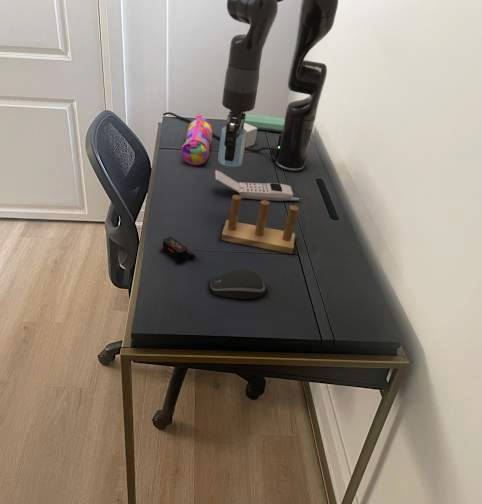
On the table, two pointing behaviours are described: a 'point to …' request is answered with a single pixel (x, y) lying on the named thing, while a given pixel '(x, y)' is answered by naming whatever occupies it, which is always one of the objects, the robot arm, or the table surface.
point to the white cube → (250, 134)
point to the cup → (238, 150)
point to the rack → (260, 229)
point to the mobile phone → (258, 189)
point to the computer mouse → (238, 285)
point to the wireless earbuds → (176, 250)
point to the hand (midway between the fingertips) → (231, 154)
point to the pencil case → (197, 141)
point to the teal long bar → (265, 122)
